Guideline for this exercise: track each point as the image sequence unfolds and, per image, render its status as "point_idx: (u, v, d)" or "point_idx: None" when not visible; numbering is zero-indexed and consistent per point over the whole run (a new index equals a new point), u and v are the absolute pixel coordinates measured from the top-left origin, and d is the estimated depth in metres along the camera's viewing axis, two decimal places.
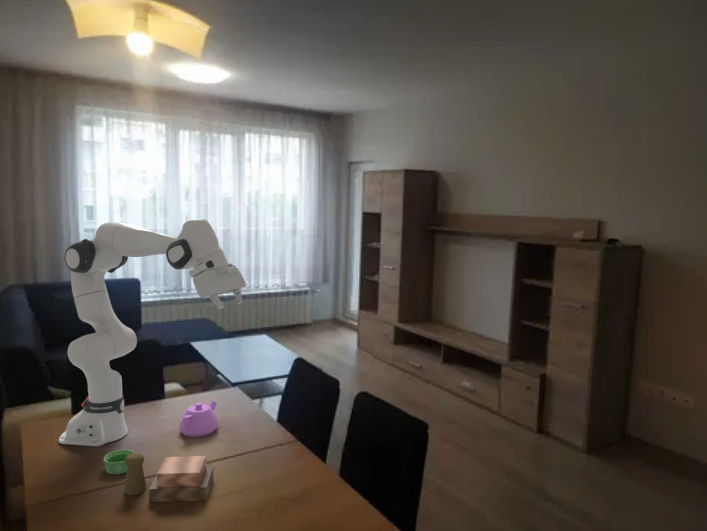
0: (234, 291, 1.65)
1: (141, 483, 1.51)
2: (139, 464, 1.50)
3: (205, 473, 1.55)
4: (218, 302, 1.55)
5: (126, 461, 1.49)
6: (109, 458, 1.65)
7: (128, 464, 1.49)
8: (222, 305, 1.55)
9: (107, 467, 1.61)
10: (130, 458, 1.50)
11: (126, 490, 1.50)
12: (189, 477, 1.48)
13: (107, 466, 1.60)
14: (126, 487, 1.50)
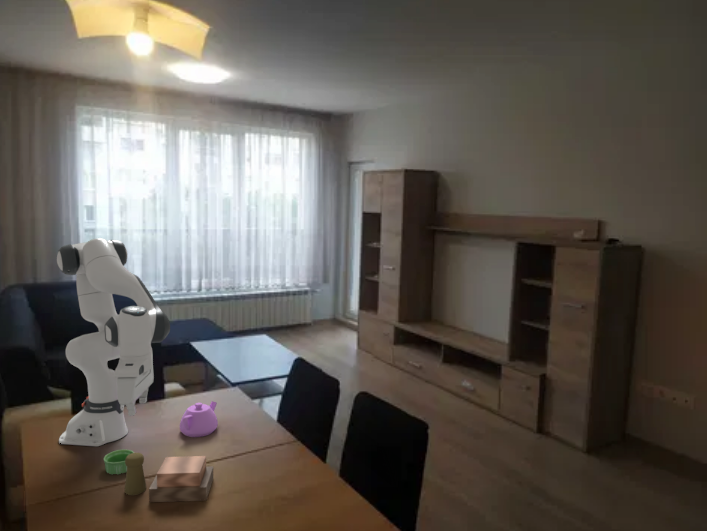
0: None
1: (141, 483, 1.51)
2: (139, 464, 1.50)
3: (205, 473, 1.55)
4: (132, 409, 1.44)
5: (126, 461, 1.49)
6: (109, 458, 1.65)
7: (128, 464, 1.49)
8: (135, 413, 1.45)
9: (107, 467, 1.61)
10: (130, 458, 1.50)
11: (126, 490, 1.50)
12: (189, 477, 1.48)
13: (107, 465, 1.60)
14: (126, 487, 1.50)
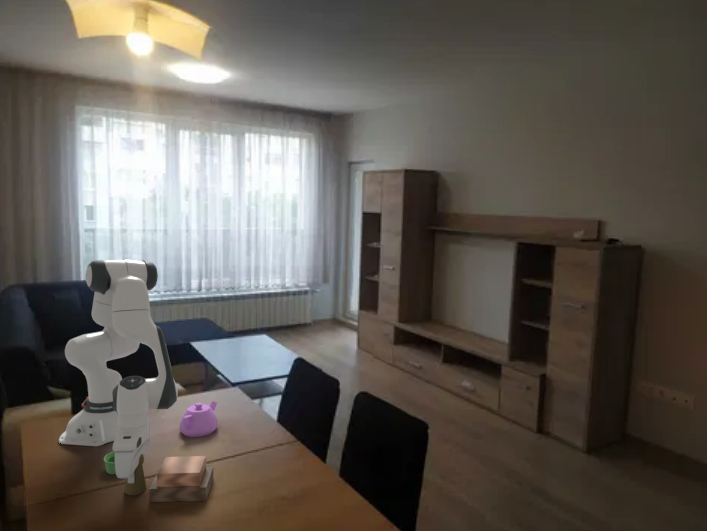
0: None
1: (141, 482, 1.51)
2: (139, 464, 1.50)
3: (205, 473, 1.55)
4: (132, 477, 1.48)
5: None
6: (109, 458, 1.65)
7: None
8: (134, 480, 1.49)
9: (107, 467, 1.61)
10: None
11: (126, 490, 1.50)
12: (189, 477, 1.48)
13: (107, 465, 1.60)
14: (126, 487, 1.50)
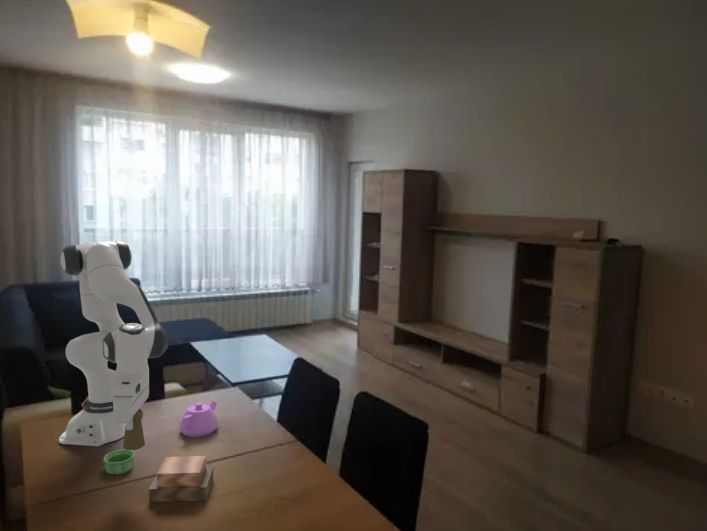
0: None
1: (140, 438, 1.50)
2: (138, 419, 1.49)
3: (205, 473, 1.55)
4: (130, 424, 1.47)
5: None
6: (109, 458, 1.65)
7: None
8: (133, 427, 1.47)
9: (107, 467, 1.61)
10: None
11: (125, 445, 1.49)
12: (189, 477, 1.48)
13: (107, 466, 1.60)
14: (125, 442, 1.49)
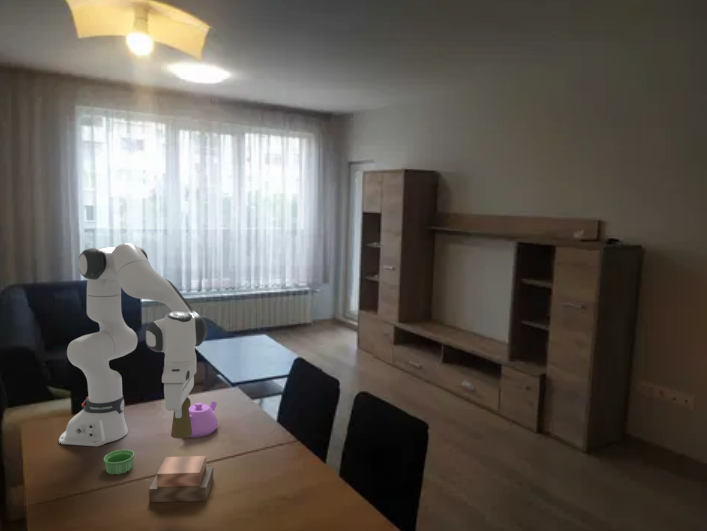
0: None
1: (188, 426, 1.49)
2: (186, 407, 1.49)
3: (205, 473, 1.55)
4: (179, 411, 1.46)
5: None
6: (109, 458, 1.65)
7: None
8: (181, 415, 1.47)
9: (107, 467, 1.61)
10: None
11: (173, 433, 1.48)
12: (189, 477, 1.48)
13: (107, 465, 1.60)
14: (173, 430, 1.49)
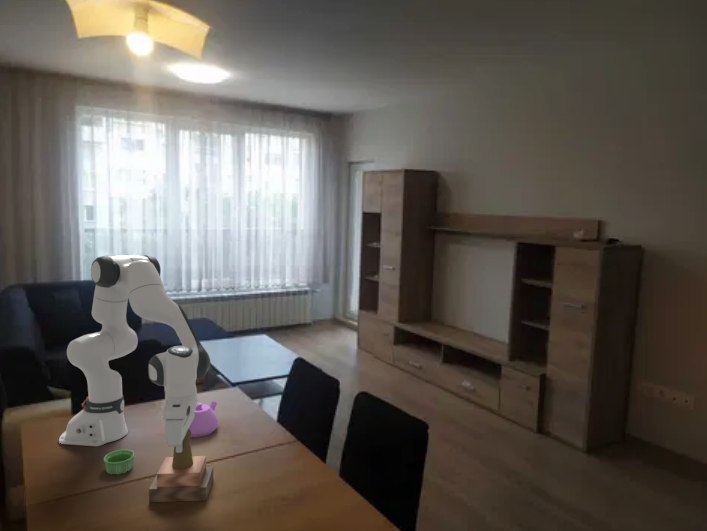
0: None
1: (189, 457, 1.51)
2: (187, 438, 1.50)
3: (205, 473, 1.55)
4: (180, 446, 1.47)
5: None
6: (109, 458, 1.65)
7: None
8: (182, 450, 1.48)
9: (107, 467, 1.61)
10: None
11: (174, 465, 1.50)
12: (189, 477, 1.48)
13: (107, 466, 1.60)
14: (174, 462, 1.50)
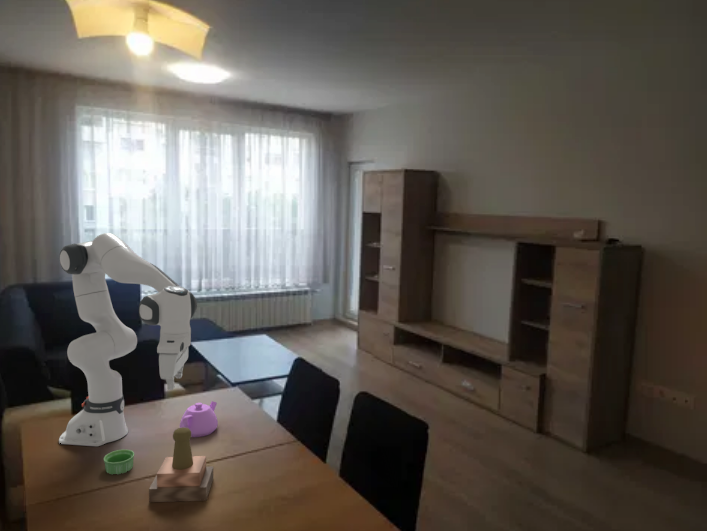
0: None
1: (189, 457, 1.51)
2: (187, 438, 1.50)
3: (205, 473, 1.55)
4: (171, 383, 1.52)
5: (174, 435, 1.49)
6: (109, 458, 1.65)
7: (176, 438, 1.49)
8: (173, 387, 1.53)
9: (107, 467, 1.61)
10: (178, 432, 1.49)
11: (174, 465, 1.50)
12: (189, 477, 1.48)
13: (107, 466, 1.60)
14: (174, 462, 1.50)
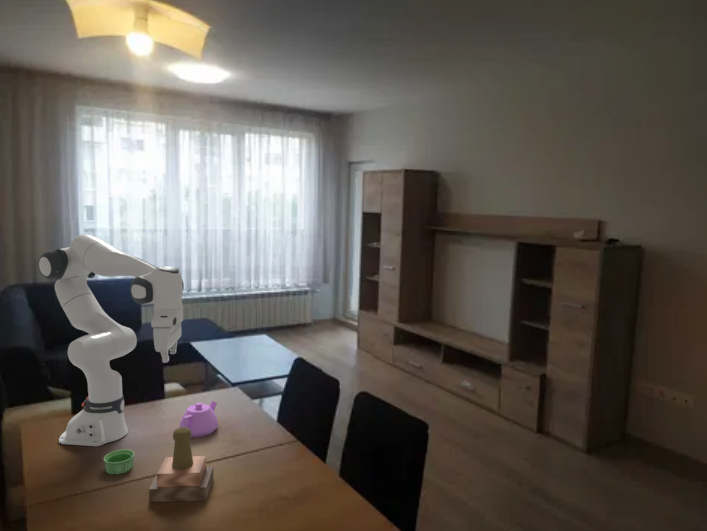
0: None
1: (189, 457, 1.51)
2: (187, 438, 1.50)
3: (205, 473, 1.55)
4: (166, 357, 1.61)
5: (174, 435, 1.49)
6: (109, 458, 1.65)
7: (176, 438, 1.49)
8: (168, 360, 1.62)
9: (107, 467, 1.61)
10: (178, 432, 1.49)
11: (174, 465, 1.50)
12: (189, 477, 1.48)
13: (107, 465, 1.60)
14: (174, 462, 1.50)
